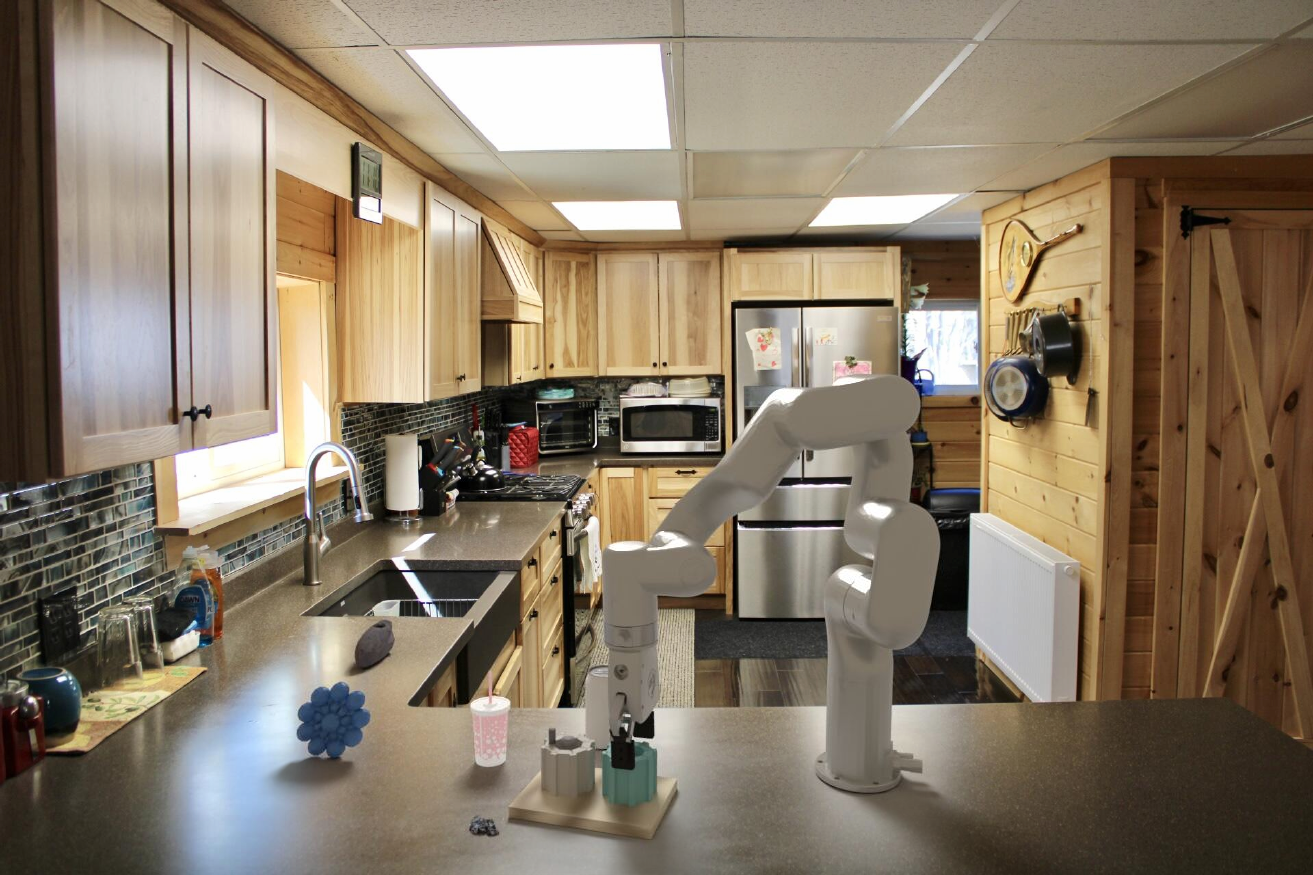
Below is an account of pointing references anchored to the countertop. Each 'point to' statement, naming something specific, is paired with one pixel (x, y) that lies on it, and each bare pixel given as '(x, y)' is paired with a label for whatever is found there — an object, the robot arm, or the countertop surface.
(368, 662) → the perforated stone tool
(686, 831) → the countertop surface
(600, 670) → the can
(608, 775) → the teal gear
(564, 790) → the gear
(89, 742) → the countertop surface
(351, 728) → the blue flower ornament
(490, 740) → the beverage cup
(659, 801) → the board
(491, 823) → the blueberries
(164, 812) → the countertop surface
